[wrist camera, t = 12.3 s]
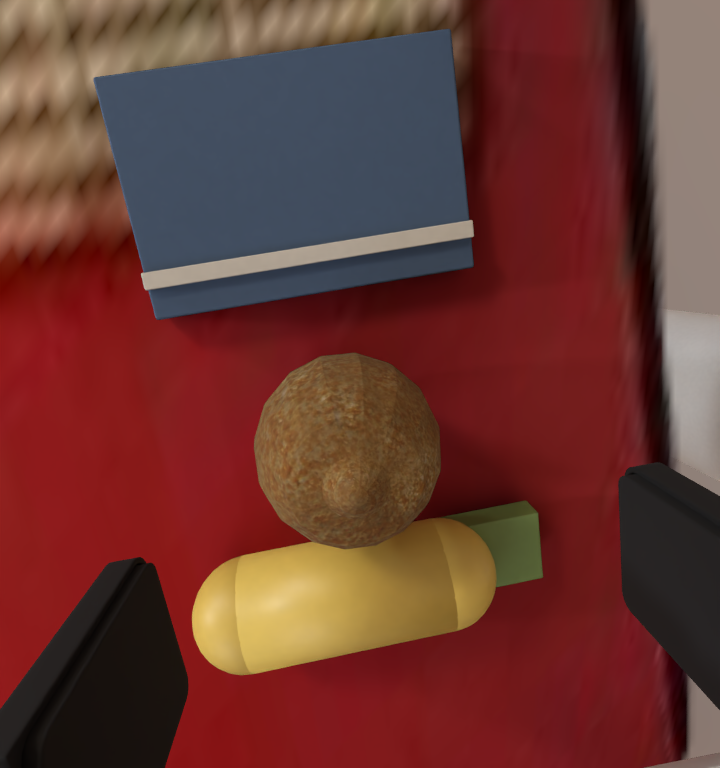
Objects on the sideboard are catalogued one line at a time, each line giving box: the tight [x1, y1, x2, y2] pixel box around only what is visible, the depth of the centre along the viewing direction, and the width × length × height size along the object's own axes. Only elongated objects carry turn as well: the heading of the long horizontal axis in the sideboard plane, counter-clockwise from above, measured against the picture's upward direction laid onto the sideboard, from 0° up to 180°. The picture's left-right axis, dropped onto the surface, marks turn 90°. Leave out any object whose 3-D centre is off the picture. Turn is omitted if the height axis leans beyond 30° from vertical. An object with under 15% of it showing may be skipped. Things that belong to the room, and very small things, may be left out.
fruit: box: [254, 353, 441, 549], centre depth 17 cm, size 6×6×8 cm
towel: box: [94, 29, 474, 320], centre depth 17 cm, size 12×8×2 cm, turn 99°
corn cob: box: [192, 501, 543, 675], centre depth 20 cm, size 15×4×4 cm, turn 99°
